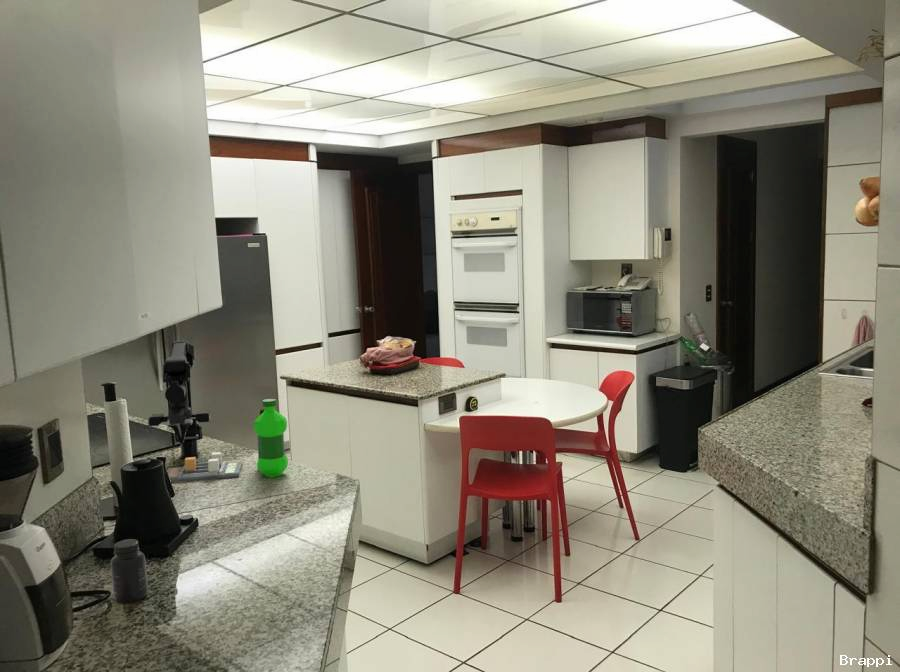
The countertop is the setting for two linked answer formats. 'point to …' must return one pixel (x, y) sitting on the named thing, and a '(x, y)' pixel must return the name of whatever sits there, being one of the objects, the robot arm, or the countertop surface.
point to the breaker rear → (217, 456)
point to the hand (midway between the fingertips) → (181, 443)
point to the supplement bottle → (128, 572)
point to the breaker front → (213, 465)
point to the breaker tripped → (190, 463)
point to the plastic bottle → (271, 440)
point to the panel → (204, 472)
